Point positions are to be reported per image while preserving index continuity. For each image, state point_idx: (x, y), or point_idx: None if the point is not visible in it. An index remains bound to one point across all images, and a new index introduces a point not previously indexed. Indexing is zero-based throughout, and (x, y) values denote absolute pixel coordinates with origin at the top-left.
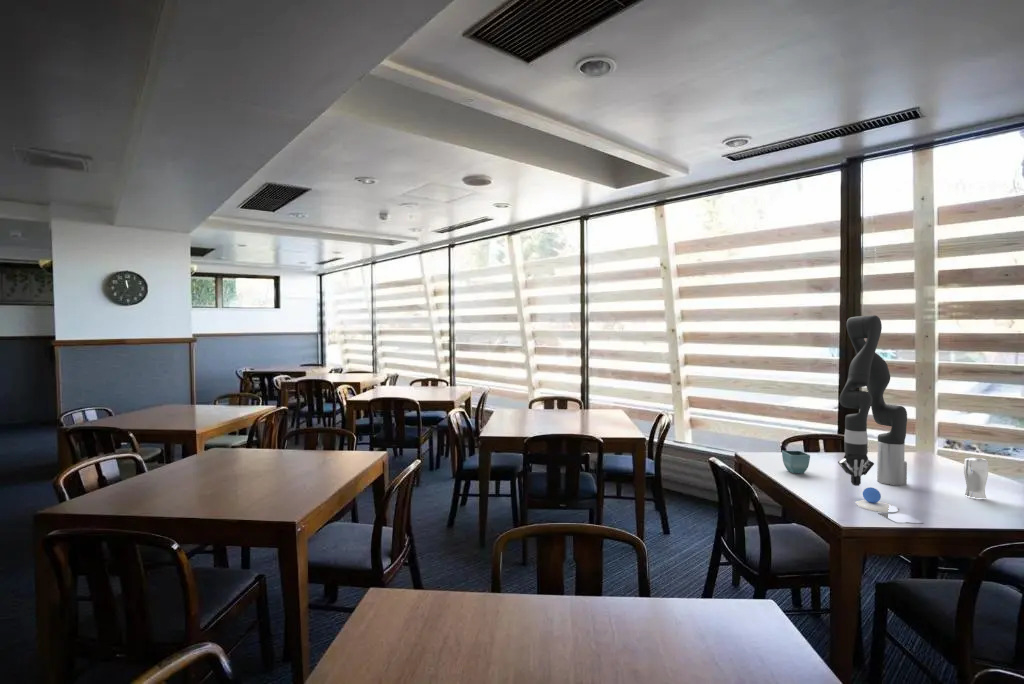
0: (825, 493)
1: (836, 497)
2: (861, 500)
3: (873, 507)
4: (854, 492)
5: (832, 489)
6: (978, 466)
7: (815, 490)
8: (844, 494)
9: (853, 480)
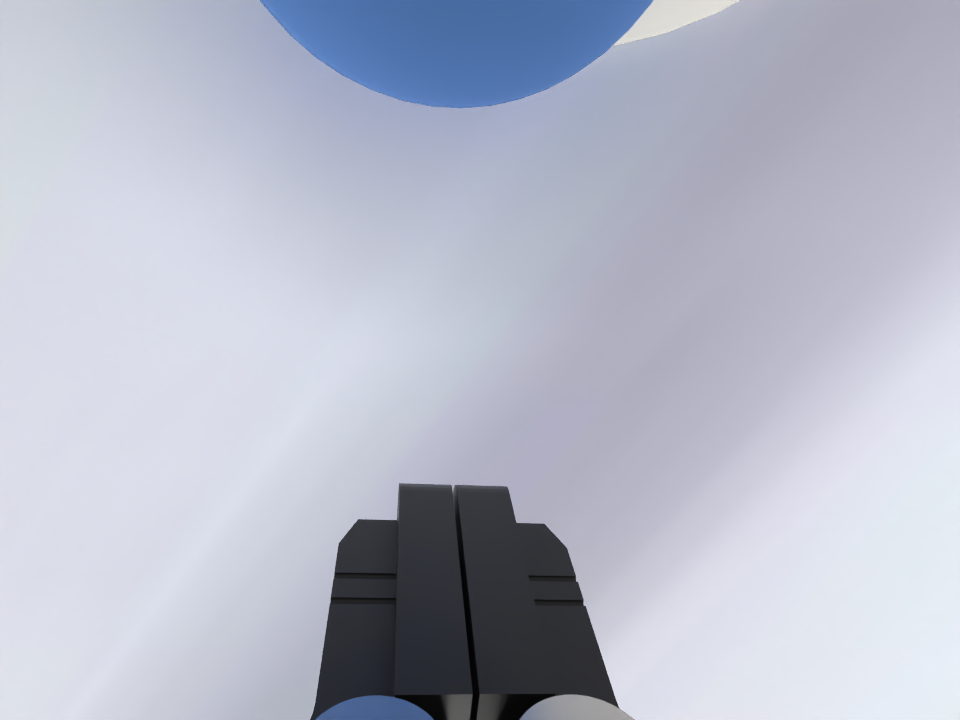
0: (904, 519)
1: (919, 305)
2: None
3: None
4: None
5: None
6: None
7: (922, 651)
8: (614, 465)
9: (573, 607)
